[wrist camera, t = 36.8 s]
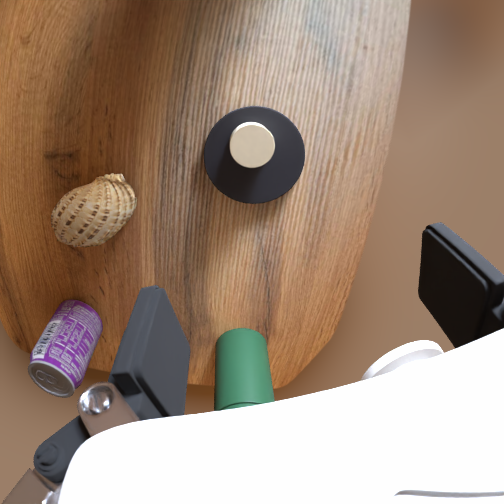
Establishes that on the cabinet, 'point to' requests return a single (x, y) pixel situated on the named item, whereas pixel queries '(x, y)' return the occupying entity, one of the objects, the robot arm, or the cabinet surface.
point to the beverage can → (65, 348)
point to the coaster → (259, 178)
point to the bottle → (242, 370)
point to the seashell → (94, 211)
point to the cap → (251, 145)
